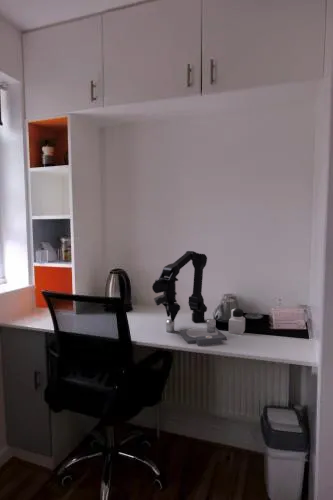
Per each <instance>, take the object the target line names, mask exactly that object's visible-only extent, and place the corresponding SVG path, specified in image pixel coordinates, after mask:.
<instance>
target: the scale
mask: <svg viewBox="0 0 333 500" xmlns="http://www.w3.org/2000/svg"><path fill="white" fill-rule="evenodd" d="M178 333H179V334H180V336H181V337H182V339H183V340H184V341H185V342H186V343H187V344H196V345H197V346H198V347H203V345H204V346H210V345H211V346H213V345H212V344H214V345H221V344H222V345H223V341H227V340H228V338H227V336H226V335H225V334H224V333H223V332H221V331H220V329H218V328H217V327H216V332H215V333H208V332H207V326H206V327H203V326H199V327H197V326H196V327H192V328H187V329H179V330H178Z"/></svg>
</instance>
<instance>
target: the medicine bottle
mask: <svg viewBox="0 0 333 500" xmlns="http://www.w3.org/2000/svg"><path fill="white" fill-rule="evenodd" d="M230 311H231V312H230V315H231V316H230V318H229V320H228V333H230V334H235V335H243V333H244V332H245V330H246V317H244V310H243V309H241V308H233V309H231V310H230Z"/></svg>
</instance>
